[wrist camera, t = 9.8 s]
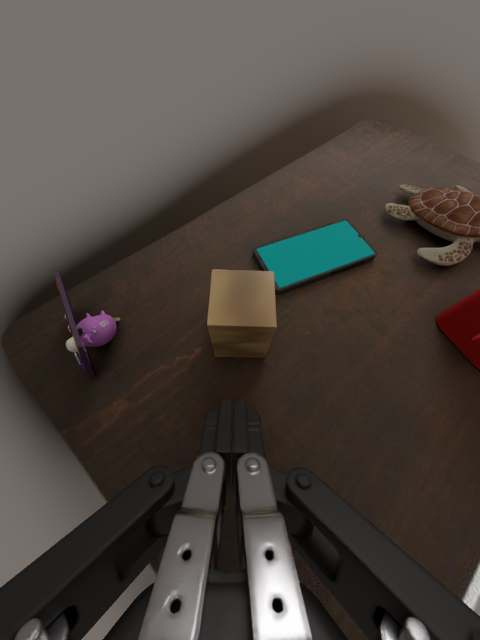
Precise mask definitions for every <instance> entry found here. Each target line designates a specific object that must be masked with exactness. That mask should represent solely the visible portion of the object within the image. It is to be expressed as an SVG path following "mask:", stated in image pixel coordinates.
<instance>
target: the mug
mask: <svg viewBox="0 0 480 640" xmlns="http://www.w3.org/2000/svg"><path fill="white" fill-rule="evenodd" d="M437 324H438V326H439V328H440V329H441V330H442V332H443V333H444V334H445V335H446V336H447V337H448V338H449V339H450V340H451V341H452V342H453V344H454V345H455V346H456V347H457V348H458V349H459V350H460V351H461V352H462V353H463V354H464V355H465V357H466V358H467V359H468V360H469V361H470V362H471V363H472V364H473V365H474V366H475V367H476V368H478V369H479V370H480V289H479V290H477V291H476V292H474V293H472V294H471V295H469V296H468V297H466V298H464V299H463V300H461V301H459V302H458V303H456V304H454V305H453V306H451V307H450V308H448V309H446V310H445V311H443V312H441V313H440V314H439V315H438V316H437Z"/></svg>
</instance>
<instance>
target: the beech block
mask: <svg viewBox="0 0 480 640" xmlns="http://www.w3.org/2000/svg"><path fill="white" fill-rule="evenodd" d="M207 327H208V331H209V335H210V339H211V343H212V347H213V351H214V355H215V357H245V358H265V357H266V355H267V352H268V349H269V347H270V344H271V341H272V338H273V336H274V333H275V330H276V328H277V321H276V302H275V282H274V271H247V270H214V269H213V270H212V276H211V287H210V297H209V308H208V319H207Z"/></svg>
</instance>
